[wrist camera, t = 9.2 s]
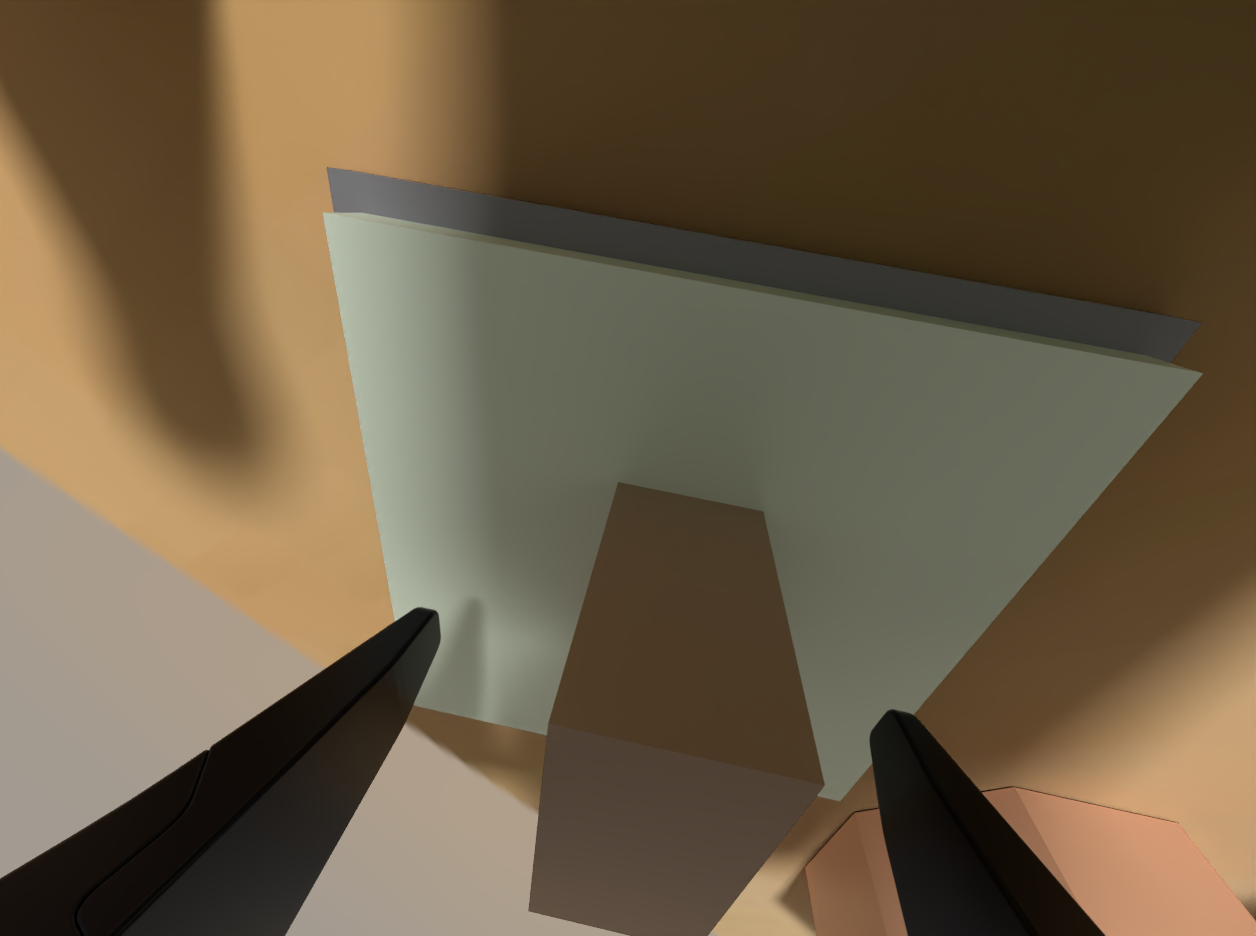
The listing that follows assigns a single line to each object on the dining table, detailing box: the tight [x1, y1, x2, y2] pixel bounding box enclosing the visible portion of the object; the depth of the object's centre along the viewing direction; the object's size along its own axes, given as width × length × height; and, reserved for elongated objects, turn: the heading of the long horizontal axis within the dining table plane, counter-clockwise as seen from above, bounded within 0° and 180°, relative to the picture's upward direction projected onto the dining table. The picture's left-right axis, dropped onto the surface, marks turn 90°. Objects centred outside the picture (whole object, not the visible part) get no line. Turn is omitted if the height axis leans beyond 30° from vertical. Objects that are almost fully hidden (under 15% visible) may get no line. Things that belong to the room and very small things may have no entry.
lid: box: [323, 213, 1203, 936], centre depth 9 cm, size 14×14×6 cm
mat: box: [327, 167, 1202, 363], centre depth 12 cm, size 15×15×1 cm
